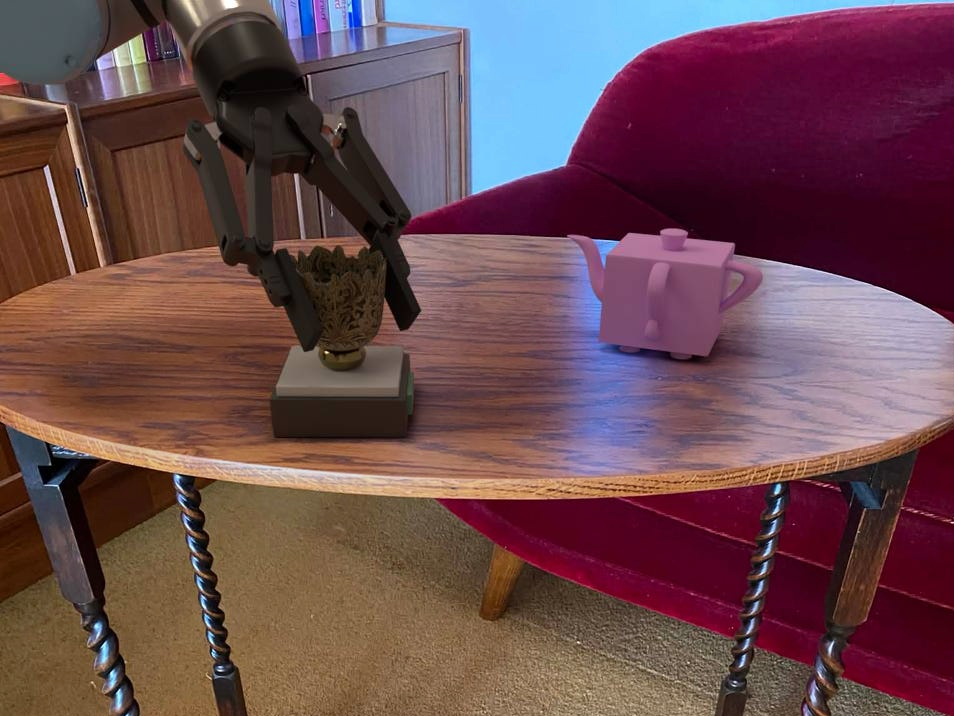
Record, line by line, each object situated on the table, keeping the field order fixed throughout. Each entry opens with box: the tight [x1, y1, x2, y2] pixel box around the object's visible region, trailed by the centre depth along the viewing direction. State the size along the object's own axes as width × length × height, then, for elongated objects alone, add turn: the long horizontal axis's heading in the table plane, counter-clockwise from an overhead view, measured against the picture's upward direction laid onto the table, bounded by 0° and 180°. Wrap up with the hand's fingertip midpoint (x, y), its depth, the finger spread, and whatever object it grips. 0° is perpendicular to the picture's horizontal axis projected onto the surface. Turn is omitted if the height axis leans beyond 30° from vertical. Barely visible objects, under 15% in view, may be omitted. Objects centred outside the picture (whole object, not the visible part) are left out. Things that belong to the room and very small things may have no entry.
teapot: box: [566, 228, 764, 360], centre depth 88 cm, size 18×14×10 cm
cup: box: [289, 244, 387, 370], centre depth 72 cm, size 8×7×8 cm
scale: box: [268, 345, 415, 438], centre depth 76 cm, size 10×10×4 cm
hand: (363, 330), depth 70 cm, fingers closed on cup, 7 cm apart
